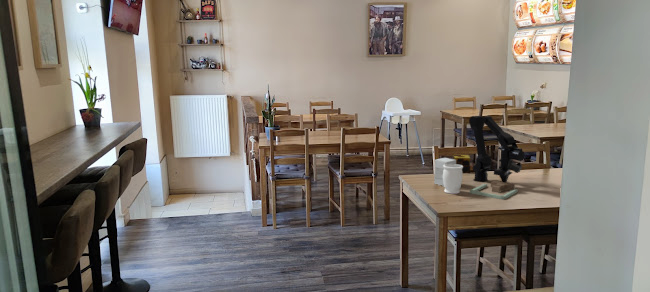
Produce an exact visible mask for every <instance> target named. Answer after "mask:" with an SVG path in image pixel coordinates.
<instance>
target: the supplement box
mask: <svg viewBox="0 0 650 292" xmlns="http://www.w3.org/2000/svg"><path fill="white" fill-rule="evenodd" d="M445 164H456V160H454V158H448V157H442V158H441V157H440V158H438V159H434V180H433V181H434V183H433V184H434V185H436V184H438V185H437V186H440V185H442V186H441V187H444V184H443V170H444V168H443V165H445Z"/></svg>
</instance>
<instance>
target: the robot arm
mask: <svg viewBox="0 0 650 292" xmlns="http://www.w3.org/2000/svg"><path fill="white" fill-rule="evenodd" d="M468 123H469V126H470V129H472V130H473V133H474V140H475V141H474V142H475V145H476V151H477V156H476V158H475V160H476V161H475V164H474V165H472V170H473V171H474V178H473V179H472V180H473V181H475V182H476V181H477V182H481V183H485V182H487V181H489V179H488V176H489V174H488V171H490V170H491V169H490V168H491V167H492V163H493V161H492V156H491V155H488V153H487V149H486V142H485V138H484V132H483V130H484V127H485V126H487V128H488V129H489V130H490V131H491V133H493V134H494V135H495V137H496V138H497V142H498V143H499V145H500V146H499V147H498V148H497V149H498V150H500V158H499V160H498V161H499V162H500V165H499V167H498V168H497V169H495V170H493V175H496V176H499V178H500V179H501V182H504V183H508V180H509V176H510V175H512V174H513V172H514V173H517V174H518V173H520V172H521V170H522V168H523V166H522V163H521V162H522V161H523V160H524V159H525V157H526V155H525V152H524V150H523V148H519V146H518V145H517V142H516V141H515V138H514V136H513V135H511V134H510V133H508V132H506V131H504V129H503V128H501V126H500V125H499V124H498V123H497V122H496V121H495V120H494V119H493V117H492V116H490V115H487V116H486V115H485V116H482V115H475V116H474V115H473V116H470V117H469V119H468ZM514 161H518V162H514ZM512 171H513V172H512Z"/></svg>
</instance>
